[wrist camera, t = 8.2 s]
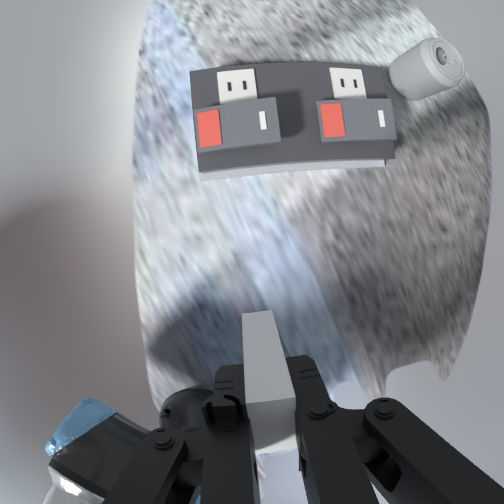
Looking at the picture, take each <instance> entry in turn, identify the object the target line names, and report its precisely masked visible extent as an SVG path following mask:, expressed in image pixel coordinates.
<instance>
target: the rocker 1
mask: <svg viewBox="0 0 504 504" xmlns="http://www.w3.org/2000/svg"><path fill="white" fill-rule="evenodd" d="M194 118H195V128H196V138H197V148H198V153H201V154H208V153H214V152H220V151H227V150H234V149H241V148H249V147H257V146H266V145H275V144H282V138H281V129H280V121H279V114H278V106H277V100H276V97H270V98H262V99H255V100H247V101H241V102H235V103H229V104H223V105H217V106H212V107H207V108H202V109H197V110H194Z"/></svg>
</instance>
